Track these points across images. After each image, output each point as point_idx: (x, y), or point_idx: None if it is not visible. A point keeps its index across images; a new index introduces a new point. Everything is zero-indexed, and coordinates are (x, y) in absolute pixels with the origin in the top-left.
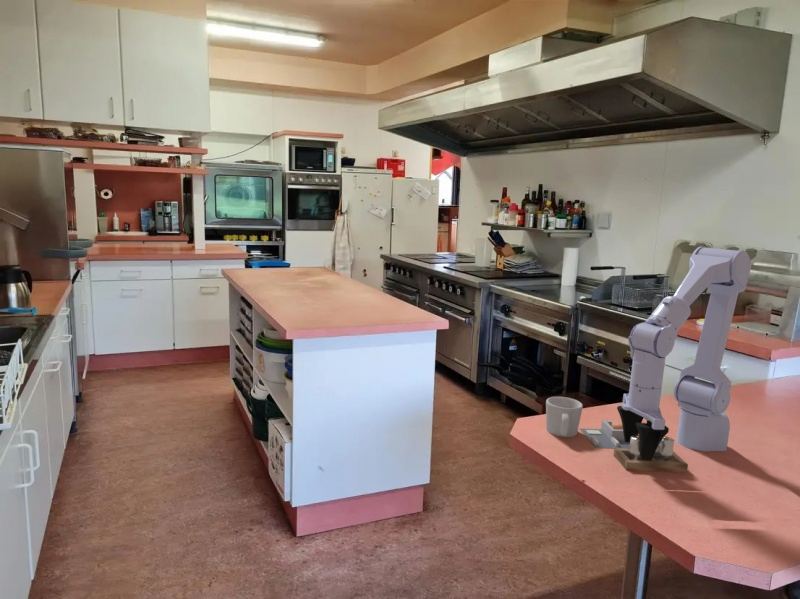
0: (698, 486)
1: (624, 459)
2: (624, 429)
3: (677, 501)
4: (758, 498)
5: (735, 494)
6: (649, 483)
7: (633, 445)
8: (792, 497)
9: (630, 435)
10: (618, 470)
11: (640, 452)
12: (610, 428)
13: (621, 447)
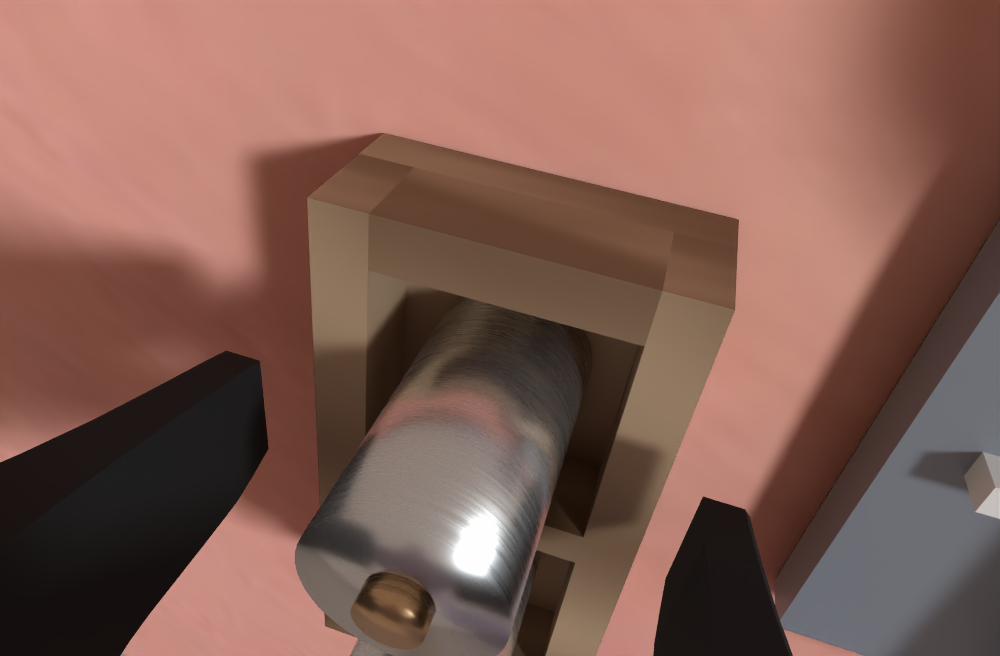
0: (267, 515)
1: (391, 218)
2: (713, 652)
3: (29, 263)
4: (193, 635)
5: (210, 593)
6: (259, 255)
7: (387, 447)
8: None
9: (682, 619)
10: (505, 133)
11: (189, 385)
12: None
13: (918, 478)
